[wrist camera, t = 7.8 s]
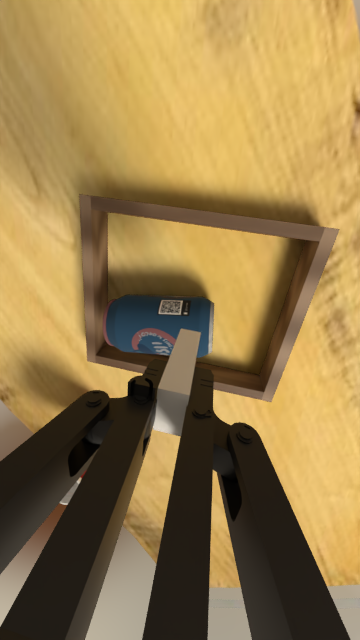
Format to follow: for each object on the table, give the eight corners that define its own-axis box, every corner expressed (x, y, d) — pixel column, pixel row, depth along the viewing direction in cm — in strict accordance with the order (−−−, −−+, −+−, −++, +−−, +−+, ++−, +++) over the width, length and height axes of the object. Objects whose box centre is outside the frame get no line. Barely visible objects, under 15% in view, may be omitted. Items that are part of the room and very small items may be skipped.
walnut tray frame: (97, 199, 25) (79, 194, 21) (322, 229, 22) (339, 229, 19) (100, 348, 32) (87, 361, 29) (265, 383, 30) (271, 402, 27)
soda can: (211, 368, 25) (115, 360, 27) (213, 321, 29) (129, 317, 31) (212, 337, 20) (91, 330, 22) (215, 283, 24) (113, 281, 26)
